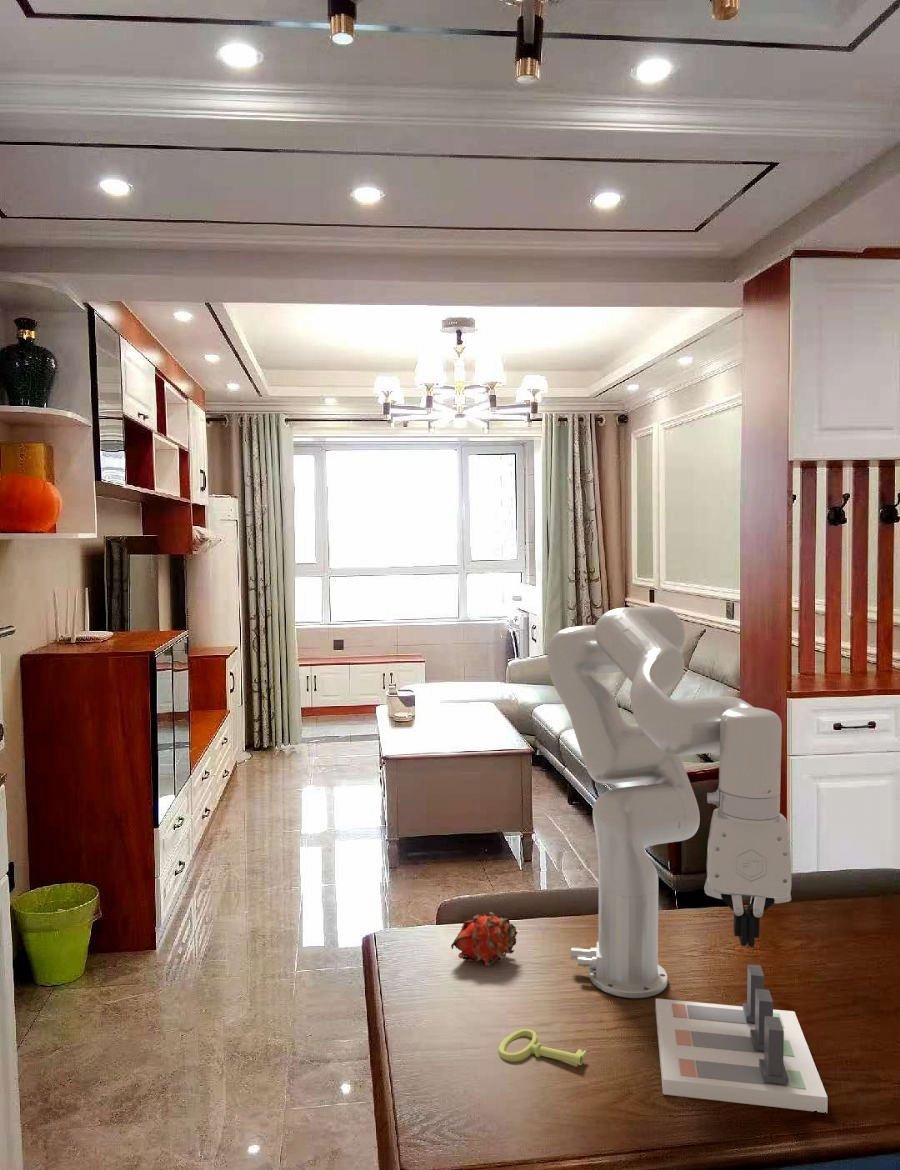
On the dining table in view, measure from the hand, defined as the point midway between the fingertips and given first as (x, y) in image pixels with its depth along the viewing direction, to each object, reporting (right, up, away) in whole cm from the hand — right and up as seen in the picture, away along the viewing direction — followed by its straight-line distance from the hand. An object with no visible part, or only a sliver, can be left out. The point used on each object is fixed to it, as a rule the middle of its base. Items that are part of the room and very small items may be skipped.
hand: (746, 941), depth 112 cm
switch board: (0, -19, +7) cm, 20 cm away
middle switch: (+4, -17, +6) cm, 18 cm away
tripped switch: (+3, -17, -1) cm, 17 cm away
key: (-26, -20, +8) cm, 34 cm away
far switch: (+6, -16, +13) cm, 21 cm away
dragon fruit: (-33, -18, +35) cm, 51 cm away
